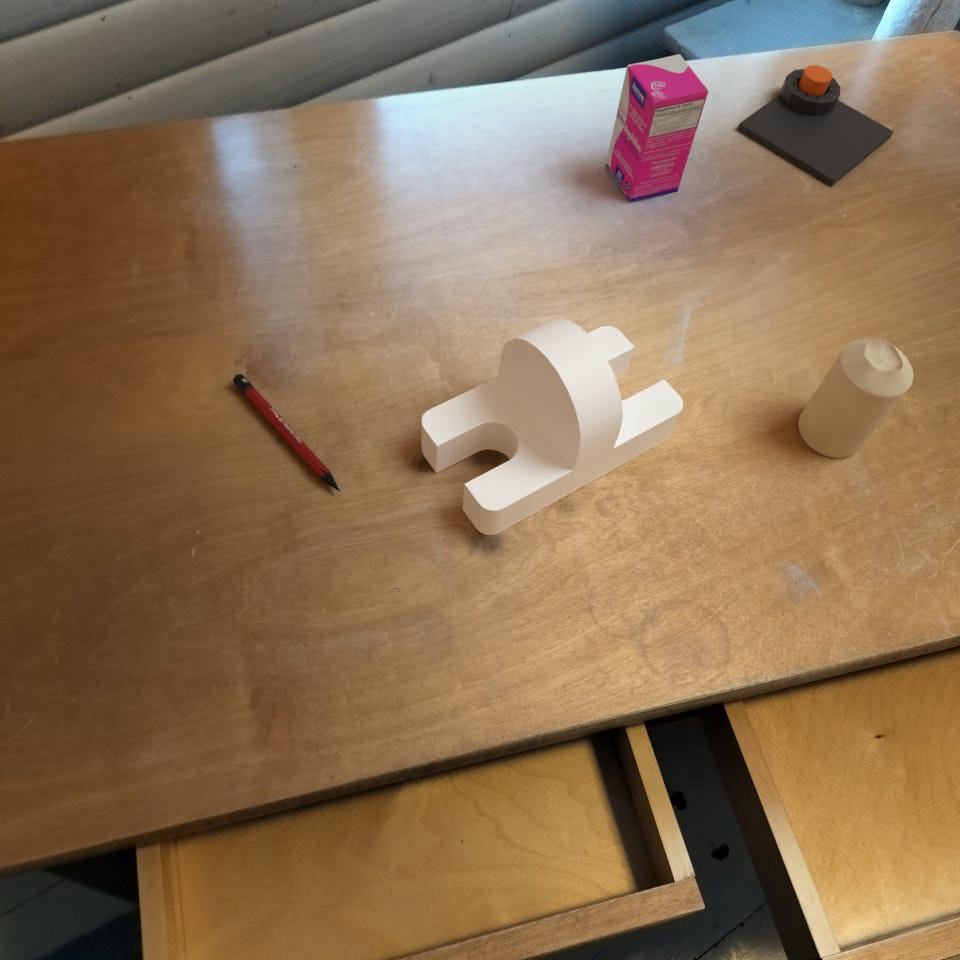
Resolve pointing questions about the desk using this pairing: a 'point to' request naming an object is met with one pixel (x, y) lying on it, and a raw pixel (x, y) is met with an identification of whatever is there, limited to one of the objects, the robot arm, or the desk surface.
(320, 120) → the desk surface
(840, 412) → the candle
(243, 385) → the pencil
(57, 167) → the desk surface
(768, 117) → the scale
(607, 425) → the bracket
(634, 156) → the supplement box
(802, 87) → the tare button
